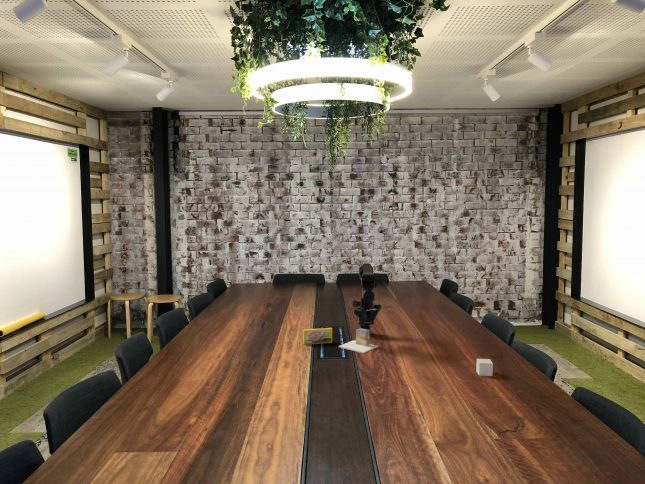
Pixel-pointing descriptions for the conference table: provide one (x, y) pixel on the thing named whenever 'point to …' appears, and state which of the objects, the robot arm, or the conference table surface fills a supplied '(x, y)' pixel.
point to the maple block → (362, 337)
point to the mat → (357, 347)
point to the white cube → (484, 367)
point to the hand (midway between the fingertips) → (367, 324)
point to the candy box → (317, 336)
